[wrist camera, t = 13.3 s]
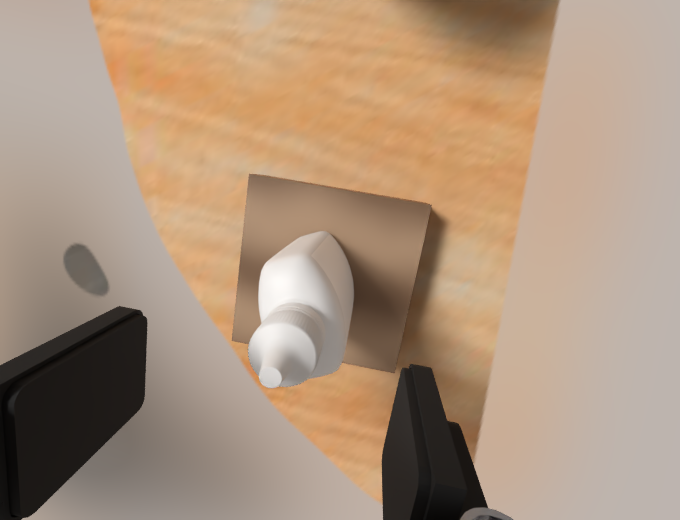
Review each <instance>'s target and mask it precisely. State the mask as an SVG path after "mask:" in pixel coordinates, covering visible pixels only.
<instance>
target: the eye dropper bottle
mask: <svg viewBox="0 0 680 520" xmlns="http://www.w3.org/2000/svg"><path fill="white" fill-rule="evenodd" d="M353 302H354V284H353V277H352V273H351V269H350V266H349V263H348V260H347V258H346V256H345V254H344V252H343V250H342V249H341V247H340V245H339V244H338V242H337V241H336V240H335V239H334V237H333V236H332V235H331V234H330V233H328V232H326V231H319V232H315V233H312V234H308V235H304V236H301V237H299V238H298V239H296V240H295V241H293V242H292V243H290V244H289V245H288V246H286V247H285V248H284V249H282V250H281V251H280V252H278V253H277V254H276V255H274V256H273V257H272V258H271V259H269V260H268V261H267V262H266V263H265V264H264V266H263V268H262V270H261V275H260V280H259V292H258V303H259V313H260V319H261V325H260V326H259V327H258V328H257V330H256V331H255V332H254V334H253V335H252V338H251V339H250V342H249V345H248V347H249V348H248V351H249V352H248V354H249V355H248V357H249V361H250V364H251V366H252V367H253V370H254V371H255V372H256V373H257V375H258V376H259V380H260V382H261V383H262V385H264V386H265V387H267V388H276V387H278V386H279V387H280V386H282V387H291V386H294V385H298V384H301V383H302V382H304V381H306V380H307V379H310V378H316V377H321V376H325V375H328V374H332V373H333V372H335V371H337V370H338V369H339V367H340V365H341V364H342V361H343V357H344V353H345V348H346V344H347V338H348V333H349V327H350V321H351V315H352V309H353Z"/></svg>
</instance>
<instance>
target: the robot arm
mask: <svg viewBox="0 0 680 520" xmlns="http://www.w3.org/2000/svg"><path fill="white" fill-rule="evenodd" d="M146 344H147V318H146V317H145V316H143V314H142V312H141V311H140V310H136V309H131V308H126V307H121V306H119V307H116V308H114V309H112V310H110V311H108V312H106V313H104V314H102V315H100V316H98V317H96V318H94V319H92V320H90V321H88V322H86V323H84V324H82V325H80V326H78V327H76V328H74V329H72V330H70V331H68V332H66V333H64V334H62V335H60V336H58V337H56V338H54V339H52V340H50V341H48V342H46V343H44V344H42V345H40V346H38V347H36V348H34V349H32V350H30V351H28V352H26V353H24V354H22V355H20V356H18V357H16V358H14V359H12V360H10V361H8V362H6V363H4V364H2V365H0V520H21V519H22V518H26V517H29V516H31V515H32V514H33V513H35V512H36V511H37V510H38V509H39V508H40V507H41V506H42V505H43V504H44V503H45V502H46V501H47V500H48V499H49V498H50V497H51V496H52V495H53V494H54V493H55V492H56V491H57V490H58V489H59V488H60V487H61V486H62V485H63V484H64V483H65V482H66V481H67V480H68V479H69V478H70V477H72V476H73V475H74V474H75V472H76V471H78V469H80V468H81V467H82V466H83V465H84V464H85V463H86V462H87V461H88V460H89V459H90V458H91V457H92V456H93V455H94V454H95V453H96V452H97V451H98V450H99V449H100V448H101V447H102V446H103V445H104V444H105V443H106V442H107V441H108V440H109V439H110V438H111V437H112V436H113V435H114V434H115V433H116V432H117V431H118V430H119V429H120V428H121V427H122V426H123V425H124V424H125V423H126V422H128V421H129V420H130V419H131V417H133V416H134V415H135V414H136V413H137V411H138V410H139V409H140V408H141V406H142V404H143V402H144V397H145V373H146ZM382 492H383V520H513V519H512V518H510V517H509V516H507V515H505V514H503V513H501V512H499V511H496V510H492V509H489V508H488V506H487V503H486V500H485V497H484V495H483V492H482V489H481V486H480V483H479V480H478V477H477V474H476V471H475V468H474V465H473V462H472V459H471V456H470V454H469V451H468V448H467V445H466V442H465V439H464V436H463V433H462V430H461V428H460V426H459V424H457V423H455V422H450V421H447V419H446V416H445V412H444V409H443V405H442V402H441V399H440V395H439V392H438V388H437V385H436V382H435V378H434V375H433V372H432V369H431V368H430V367H425V366H419V365H414V364H410V366H409V369H408V368H402V370H401V374H400V378H399V382H398V387H397V391H396V395H395V400H394V404H393V408H392V413H391V417H390V422H389V426H388V430H387V435H386V439H385V443H384V448H383V454H382Z"/></svg>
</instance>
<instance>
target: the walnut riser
mask: <svg viewBox="0 0 680 520" xmlns="http://www.w3.org/2000/svg"><path fill="white" fill-rule="evenodd" d="M431 206H432V205H430V204H427V203H423V202H417V201H411V200H406V199H400V198H394V197H388V196H382V195H376V194H371V193H365V192H359V191H353V190H347V189H341V188H336V187H330V186H324V185H318V184H312V183H306V182H301V181H295V180H289V179H283V178H277V177H271V176H266V175H257V174H249V180H248V189H247V199H246V208H245V218H244V227H243V237H242V247H241V256H240V266H239V275H238V285H237V295H236V304H235V314H234V323H233V333H232V341H235V342H240V343H245V344H249V342H250V339H251V338H252V335H253V334H254V332H255V331H256V330H257V328H258V327H259V326H260V325H261V319H260V313H259V303H258V292H259V280H260V275H261V270H262V268H263V266H264V264H265V263H266V262H267V261H268V260H269V259H271V258H272V257H273V256H274V255H276V254H277V253H278V252H280V251H281V250H282V249H284V248H285V247H286V246H288V245H289V244H290V243H292V242H293V241H295V240H296V239H298V238H299V237H301V236H304V235H308V234H312V233H315V232H319V231H326V232H328V233H330V234H331V235H332V236H333V237H334V239H335V240H336V241H337V242H338V244H339V245H340V247H341V249H342V250H343V252H344V254H345V256H346V258H347V260H348V263H349V266H350V269H351V273H352V277H353V284H354V302H353V309H352V315H351V321H350V327H349V333H348V338H347V344H346V348H345V353H344V357H343V361H342V363H346V364H351V365H356V366H361V367H366V368H371V369H376V370H381V371H386V372H391V373H395V369H396V364H397V360H398V355H399V351H400V346H401V342H402V337H403V333H404V328H405V324H406V319H407V315H408V310H409V306H410V301H411V297H412V292H413V288H414V283H415V279H416V274H417V270H418V265H419V261H420V256H421V252H422V247H423V243H424V238H425V234H426V229H427V225H428V220H429V216H430V211H431Z"/></svg>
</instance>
